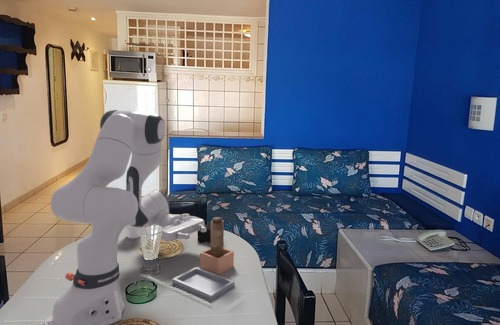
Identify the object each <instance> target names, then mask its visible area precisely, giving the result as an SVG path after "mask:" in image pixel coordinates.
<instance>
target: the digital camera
mask: <svg viewBox="0 0 500 325" xmlns="http://www.w3.org/2000/svg"><path fill="white" fill-rule="evenodd" d="M204 227H206V232H201V230H199V231H197V242H199V243H203V244H205V243H209V244H211V224H205V225H204Z"/></svg>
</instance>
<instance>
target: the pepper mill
mask: <svg viewBox="0 0 500 325" xmlns="http://www.w3.org/2000/svg"><path fill="white" fill-rule="evenodd" d="M224 223H225V222H224V220H223V217H219V216H215V217H213V218H212V219H211V221H210V225H211V243H210V248H211V256H214V257H217V258H219V257H221V256H223V248H224V243H225V242H224V234H225V232H224V228H225V227H224V225H225V224H224Z"/></svg>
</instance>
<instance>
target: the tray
mask: <svg viewBox="0 0 500 325" xmlns="http://www.w3.org/2000/svg"><path fill="white" fill-rule="evenodd" d="M171 283H172V284H174V285H172V287H174V288H177V289H179V290H182V291H183V292H186V293H188V294H190V295H192V296H195V297H197V298H200V299H202V300H204V301H206V302H209V303H212V302H211V301H212V300H214V299H216V298H217V297H219V296H221V295H222V294H224V293H225V292H227V291H229V290H230V289H232V288H233V287H235V283H236V282H235V281H234V280H231V279H229V278H226V277H225V276H222V275H220V274H219V275H217V274H215V273H212V272H209V271H207V270H204V269H202V268H200V267H198V266H196V267H193V268H191V269H189V270H187V271H185V272H183V273H181V274H180V275H177V276H175V277H174V278H172V280H171ZM175 285H176V286H175ZM177 286H178V287H177ZM181 288H182V289H181ZM184 289H185V290H184ZM186 290H187V291H186ZM188 291H189V292H188ZM191 292H192V293H191ZM195 294H196V295H195ZM200 296H201V297H200ZM202 297H203V298H202ZM205 298H206V299H207V300H206V299H205ZM209 300H211V301H209Z"/></svg>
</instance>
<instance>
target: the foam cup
mask: <svg viewBox="0 0 500 325" xmlns="http://www.w3.org/2000/svg"><path fill="white" fill-rule="evenodd" d="M141 228H142V229H143V227H134V226H131V225H130V224H128V225H127V226H125V227H124V229H125V234H126V238H128V239H137V238H140V237H139V235H138V233H137V232H138V230H139V229H141Z"/></svg>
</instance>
